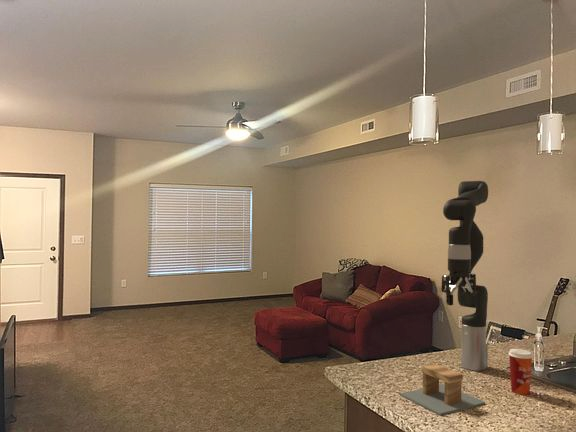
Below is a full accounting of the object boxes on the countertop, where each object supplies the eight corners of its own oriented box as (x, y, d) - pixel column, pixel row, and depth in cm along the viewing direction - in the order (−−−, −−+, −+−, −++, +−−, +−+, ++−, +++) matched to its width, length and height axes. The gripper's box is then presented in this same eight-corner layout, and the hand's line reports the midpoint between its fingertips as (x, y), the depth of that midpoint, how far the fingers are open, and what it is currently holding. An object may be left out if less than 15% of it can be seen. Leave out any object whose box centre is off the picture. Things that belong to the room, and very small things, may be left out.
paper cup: (523, 397, 154) (523, 355, 154) (503, 390, 161) (503, 349, 161) (538, 393, 158) (538, 352, 158) (517, 386, 165) (518, 347, 165)
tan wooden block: (462, 402, 148) (462, 374, 148) (449, 405, 145) (449, 377, 145) (434, 390, 159) (435, 363, 159) (421, 392, 156) (422, 366, 156)
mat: (443, 385, 165) (443, 384, 165) (485, 404, 149) (485, 402, 149) (399, 395, 155) (399, 393, 155) (439, 415, 139) (439, 413, 139)
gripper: (452, 259, 154) (452, 307, 153) (482, 257, 160) (482, 304, 160) (436, 257, 160) (435, 304, 160) (465, 256, 167) (464, 301, 167)
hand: (458, 304), depth 160 cm, fingers open, 8 cm apart
